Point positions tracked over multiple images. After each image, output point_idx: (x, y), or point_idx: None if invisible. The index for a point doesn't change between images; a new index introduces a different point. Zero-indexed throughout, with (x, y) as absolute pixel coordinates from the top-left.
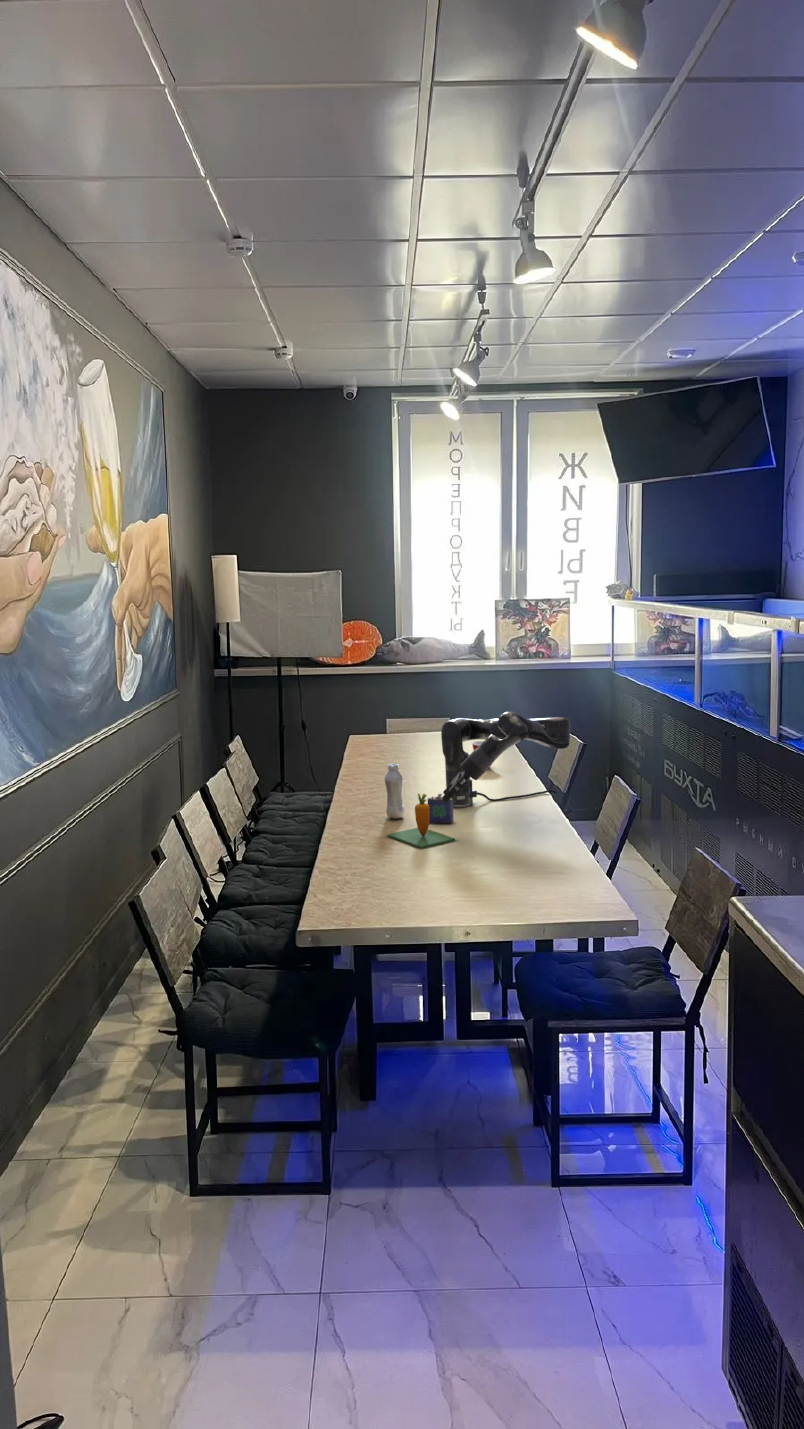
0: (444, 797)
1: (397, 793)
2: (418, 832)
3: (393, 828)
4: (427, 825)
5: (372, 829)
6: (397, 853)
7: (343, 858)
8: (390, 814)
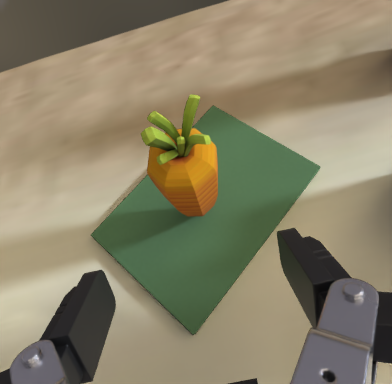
0: (66, 296)
1: None
2: (249, 180)
3: (302, 95)
4: (184, 214)
5: (276, 54)
6: (52, 186)
7: (24, 89)
8: None
